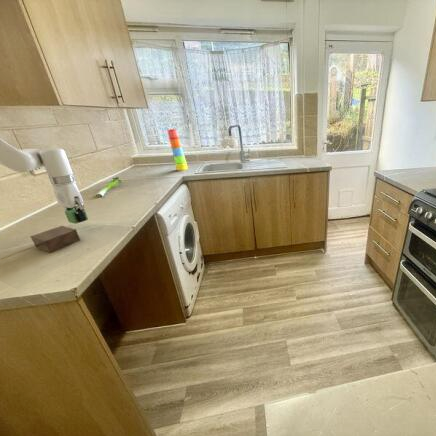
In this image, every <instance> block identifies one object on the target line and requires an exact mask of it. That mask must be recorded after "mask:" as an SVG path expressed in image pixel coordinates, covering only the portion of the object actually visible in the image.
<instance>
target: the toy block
mask: <svg viewBox="0 0 436 436" xmlns="http://www.w3.org/2000/svg"><path fill="white" fill-rule="evenodd" d="M77 208H78V207H77ZM77 208H76V209H77ZM64 214H65V216H66V219H67V221H68V223H71V224H74V225H76V224H77V225H78V224H79V222H78V221H77V219H76V216H75V214H76V213H75V211H74V210H73V209H71V210H68V211H66V210H64ZM84 214H85V216H86V219H87V220H86V221H88V220H89V217H88V215H87V212H86V210H85V208H84Z"/></svg>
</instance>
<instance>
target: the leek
mask: <svg viewBox="0 0 436 436" xmlns="http://www.w3.org/2000/svg"><path fill="white" fill-rule="evenodd" d="M121 183H123V182H122V180H121V179H120V176H115V177H113V178H112V181H110V183H109V184H107V185H106V186H105V187H103V188H102V189H101V190H99V191H98V192H97V193H96V194H95V197H98V195H99V196H101V198H103V197H104V196H105V194H106V193H107V192H108V191H109V190H110V189H111V188H113V187H114V186H116V185H117V184H119V185H121Z"/></svg>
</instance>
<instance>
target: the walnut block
mask: <svg viewBox="0 0 436 436" xmlns="http://www.w3.org/2000/svg"><path fill="white" fill-rule="evenodd" d="M29 237H30V239H31V240H32V243H33V244H34V246H35V248H36V249H38V250H42V251H44V252H47V253H49V254H51V253H53V252H56V251H58V250H61V249H63V248H65V247H69V246H71V245H72V244H75V243H77V242H80V241H81V238H80V236H79V234H78V231H77V229H75V228H72V227H69V226H64V225H60V226H57V227H54V228H51V229H48V230H45V231H42V232H39V233H36V234H32V235H30V236H29Z"/></svg>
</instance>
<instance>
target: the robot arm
mask: <svg viewBox="0 0 436 436" xmlns="http://www.w3.org/2000/svg"><path fill="white" fill-rule="evenodd" d="M0 165H2V166H4V167H5V168H7V169H10V170H12V171H15V172H19V173H28V172H31V171H34V170H37V169H39V168H44V169H45V172H46V174H47V176H48V179H49V181H50V184H51V186H52V189H53V192H54V195H55V199H56V202H57V204H58V205H59V207H62V208H64V209H65V210H64V211H68V210H71V209H73V210H74V211H75V213H76V214H75V216H76V219H77V221H78V222H79V223H83V222H86V221H88V220H87V219H86V216H85V214H84V209H85V205H84V200H83V197H82V195H81V192H80V189H79V188H78V186H77V184H76V183H77V181H76V178H75V175H74V172H73V170H72V167H71V163H70V162H69V159H68V156H67V154H66V151H65V150H64V149H63V148H60V147H49V148H23V149H18V148H16V147H15V146H13V145H11V144H10V143H8V142H7V141H5V140H4V139H3V138H1V137H0ZM76 208H77V209H76ZM79 223H78V224H79Z"/></svg>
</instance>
